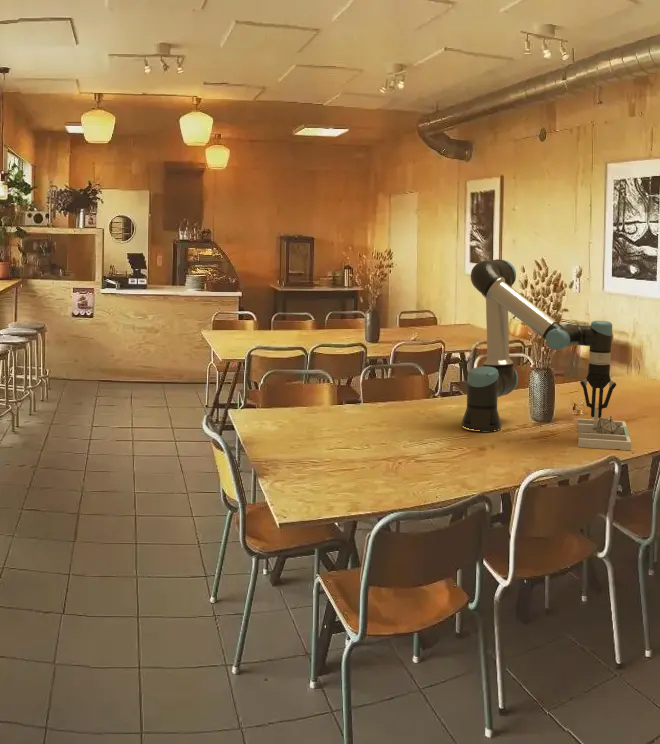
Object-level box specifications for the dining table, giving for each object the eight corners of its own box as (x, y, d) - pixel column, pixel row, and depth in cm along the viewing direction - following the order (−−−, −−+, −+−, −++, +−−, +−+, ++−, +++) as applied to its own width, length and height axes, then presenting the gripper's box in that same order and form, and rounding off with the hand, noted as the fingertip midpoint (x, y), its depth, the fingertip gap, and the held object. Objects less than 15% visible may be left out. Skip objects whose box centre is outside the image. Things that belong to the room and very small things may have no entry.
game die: (609, 448, 303) (620, 432, 296) (587, 439, 305) (597, 422, 298) (615, 432, 309) (625, 415, 302) (593, 423, 311) (602, 406, 304)
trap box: (578, 446, 292) (578, 438, 291) (576, 426, 322) (577, 418, 322) (630, 450, 287) (631, 442, 287) (624, 428, 317) (625, 421, 317)
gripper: (581, 363, 298) (577, 426, 303) (618, 365, 295) (614, 429, 299) (580, 360, 306) (577, 422, 310) (617, 362, 302) (613, 424, 306)
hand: (595, 425), depth 304 cm, fingers closed
